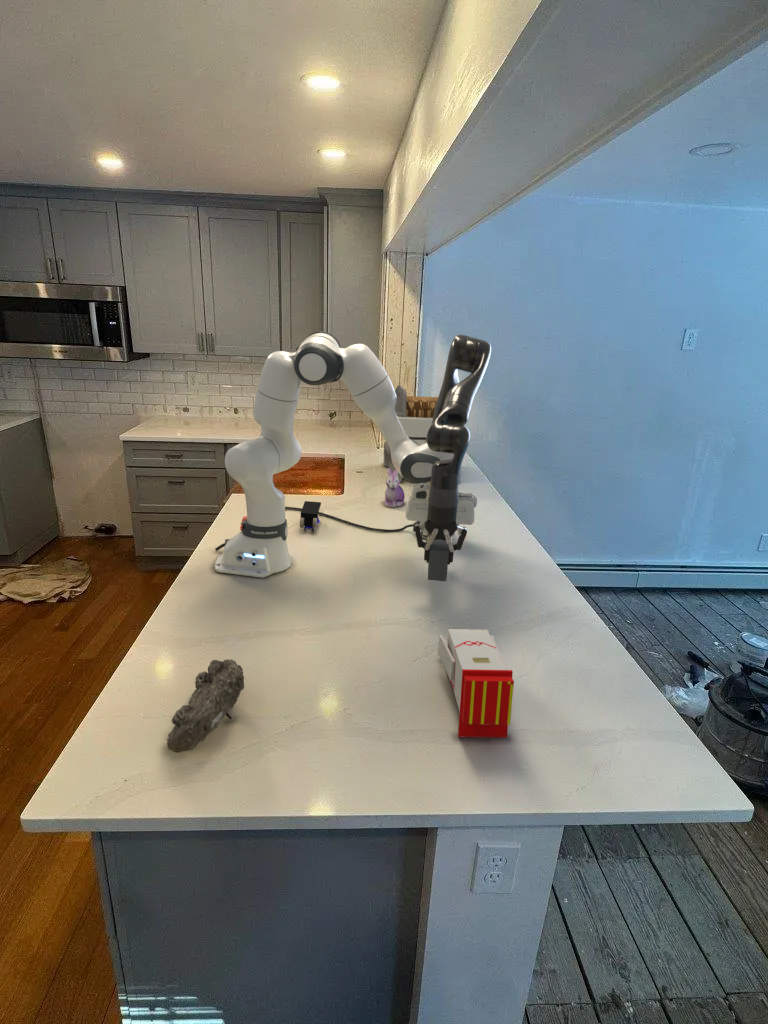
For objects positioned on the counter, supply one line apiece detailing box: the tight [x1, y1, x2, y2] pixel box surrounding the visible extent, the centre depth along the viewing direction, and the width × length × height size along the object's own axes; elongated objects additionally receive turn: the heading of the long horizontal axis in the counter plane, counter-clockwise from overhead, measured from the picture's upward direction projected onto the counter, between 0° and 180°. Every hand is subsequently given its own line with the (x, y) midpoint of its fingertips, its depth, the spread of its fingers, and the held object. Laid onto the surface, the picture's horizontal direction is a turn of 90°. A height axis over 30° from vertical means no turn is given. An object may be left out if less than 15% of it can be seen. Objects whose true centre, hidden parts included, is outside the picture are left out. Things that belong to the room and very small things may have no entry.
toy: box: [437, 628, 515, 738], centre depth 117 cm, size 12×13×30 cm
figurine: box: [383, 467, 405, 508], centre depth 227 cm, size 9×10×15 cm
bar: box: [427, 539, 449, 582], centre depth 160 cm, size 26×5×9 cm, turn 175°
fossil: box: [166, 658, 245, 754], centre depth 106 cm, size 22×10×15 cm
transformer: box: [383, 384, 462, 483], centre depth 268 cm, size 34×33×41 cm
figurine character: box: [299, 500, 322, 533], centre depth 201 cm, size 7×8×15 cm
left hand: (438, 535), depth 170 cm, fingers open, 6 cm apart
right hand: (438, 562), depth 150 cm, fingers closed on bar, 5 cm apart
